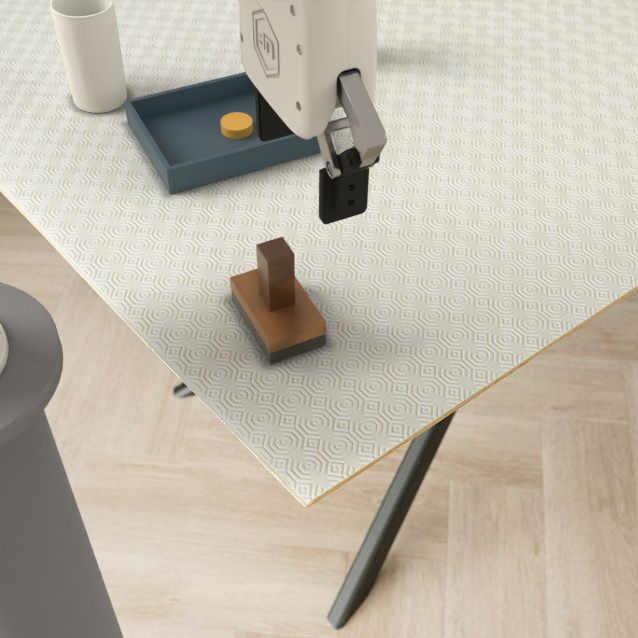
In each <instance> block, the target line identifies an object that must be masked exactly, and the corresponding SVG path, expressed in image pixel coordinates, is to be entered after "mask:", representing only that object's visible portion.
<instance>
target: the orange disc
mask: <svg viewBox="0 0 638 638" xmlns="http://www.w3.org/2000/svg"><path fill="white" fill-rule="evenodd" d="M221 132H222V134H223V135H224V136H226V137H227V138H230V139H243V138H246V137H248V136H250V135H251V134H252V132H253V120H252V118H251V117H250V116H249V115H248V114H245V113H241V112H233V113H229V114H226V115H225V116H223V117H222V119H221Z"/></svg>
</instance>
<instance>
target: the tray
mask: <svg viewBox="0 0 638 638" xmlns="http://www.w3.org/2000/svg"><path fill="white" fill-rule="evenodd" d="M255 88H256V86H255V85H254V84H253V82H252V81H251V80H250V78H249V77H248V75H247V74H246V72H245V71H243V72H239V73H238V72H237V73H234V74H231V75H227V76H226V75H225V76H223V77H222V76H221V77H217V78H214V79H209V80H205V81H201V82H200V81H199V82H196V83H193V84H189V85H184V86H180V87H176V88H172V89H166V90H164V91H159V92H154V93H150V94H147V95H142V96H141V95H140V96H138V97H134V98H129V99H126V100H125V101H124V104H123V105H124V110H125V115H126V121H127V126H129V128H130V130H131V132H132V134H133V135H134V137H135V138H136V140H137V141H138V144H139V145H140V146H141V148H142V150H143V152H144V153H145V154H146V157H147V158H148V160H149V162H150V163H151V165H152V167H153V168H154V171H155V172H156V173H157V175H158V177H159V179H160V180H161V182H162V184H163V185H164V187H165V188H166V190H167V192H168V193H169V194H170V195H172V194H176V193H180V192H184V191H186V190H187V191H188V190H191V189H195V188H198V187H202V186H206V185H210V184H212V183H216V182H220V181H223V180H228V179H232V178H234V177H239V176H242V175H246V174H249V173H252V172H256V171H260V170H263V169H267V168H271V167H274V166H277V165H278V166H279V165H280V164H285V163H290V162H292V161H295V160H296V161H297V160H301V159H303V158H306V157H310V156H314V155H317V154H322V153H321V150H320V146H319V143H318V139H317V136H315V137H312V138H311V139H303V138H301V137H299V136H298V135H296V134H292V135H289V136H285V137H281V138H278V139H274V140H270V141H265V142H263V141H261V140H260V139H259V137H258V136H257V125H256V105H255ZM233 112H241V113H245V114H248V115H249V116H250V117H251V118H252V120H253V132H252V134H251V135H250V136H248V137H246V138H243V139H230V138H227V137H226V136H224V135H223V134H222V132H221V119H222V117H223V116H225V115H226V114H229V113H233ZM332 136H333V137H334V132H333V133H332Z"/></svg>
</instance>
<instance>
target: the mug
mask: <svg viewBox="0 0 638 638" xmlns="http://www.w3.org/2000/svg"><path fill="white" fill-rule="evenodd" d="M49 7H50V11H51V17H52V20H53V26H54V30H55V33H56V37H57V41H58V45H59V50H60V54H61V57H62V62H63V66H64V69H65V75H66V78H67V83H68V86H69V90H70V93H71V97H72V100H73V103H74V105H75V107H76V108H78V109H79V110H81V111H84V112H86V113H93V114H100V113H101V114H102V113H108V112H111V111H115V110H116V109H118V108H120V107H122V106H123V105H124V101H125V100H128V99H127V98H128V91H127V84H126V83H127V82H126V77H125V76H126V75H125V68H124V62H123V53H122V47H121V41H120V34H119V27H118V19H117V13H116V8H115V3H114V0H50V2H49Z"/></svg>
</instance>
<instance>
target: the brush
mask: <svg viewBox="0 0 638 638" xmlns="http://www.w3.org/2000/svg"><path fill="white" fill-rule="evenodd" d="M255 246H256V247H255V250H256V264H257V265H256V266H257V268H255V269H252V270H249V271H246V272H242V273H239V274H236V275H233V276H230V277H229V283H230V284H229V285H230V293H231V294H230V295H231V301H232V303H233V304H234V306H235V308H236V309H237V311H238V313H239V314H240V316H241V318H242V319H243V321H244V323H245V325H246V326H247V328H248V329H249V331H250V333H251V334H252V336H253V338H254V340H255V341H256V343H257V345H258V346H259V348H260V350H261V351H262V353H263V355H264V356H265V358H266V359H267V361H268V363H269V365H274V364H276V363H279V362H282V361H285V360H287V359H290V358H293V357H297V356H299V355H303V354H305V353H307V352H310V351H313V350H316V349H318V348H321V347H324V346H326V345H327V321H326V319H325V318H324V317H323V315H322V314H321V312H320V310H319V309H318V308H317V307H316V305H315V303H314V302H313V300H312V299H311V297H310V296H309V295H308V293H307V292H306V290H305V288H304V287H303V286H302V284H301V283H300V282H299V280H298V278H297V276H296V266H295V265H296V264H295V263H296V262H295V258H296V257H295V253H294V251H293V249H292V248H291V247H290V245H289V244H288V242H287V241H286V239H285V238H284V237H283V236H280V237H277V238H274V239H270V240H266V241H264V242H260V243H257V244H255Z"/></svg>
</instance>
